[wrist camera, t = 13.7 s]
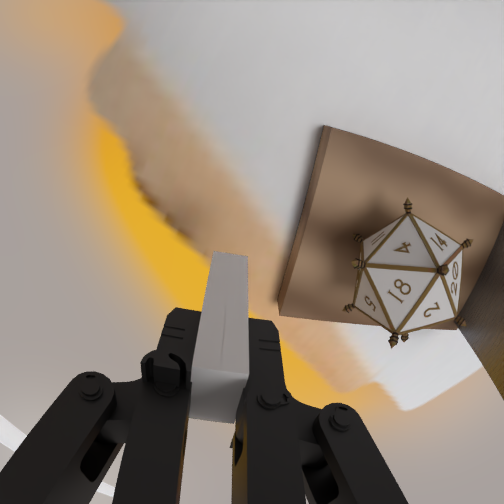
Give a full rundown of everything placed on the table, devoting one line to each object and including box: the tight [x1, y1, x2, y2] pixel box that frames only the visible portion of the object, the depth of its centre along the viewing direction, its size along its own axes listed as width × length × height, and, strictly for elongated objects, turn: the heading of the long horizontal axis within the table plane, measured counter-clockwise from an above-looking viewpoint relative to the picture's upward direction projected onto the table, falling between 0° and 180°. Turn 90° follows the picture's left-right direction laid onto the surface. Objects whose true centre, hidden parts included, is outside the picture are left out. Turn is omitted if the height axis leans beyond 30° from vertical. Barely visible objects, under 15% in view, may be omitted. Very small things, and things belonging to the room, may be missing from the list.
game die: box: [342, 197, 474, 349], centre depth 17 cm, size 9×8×10 cm
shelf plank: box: [277, 125, 504, 330], centre depth 21 cm, size 14×19×2 cm
